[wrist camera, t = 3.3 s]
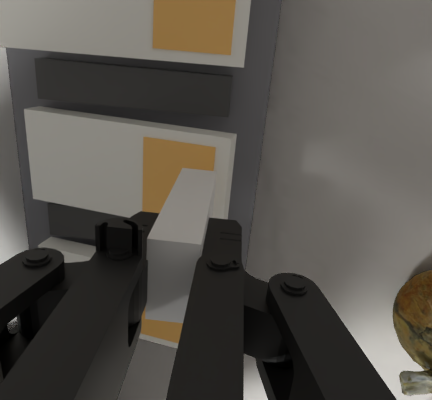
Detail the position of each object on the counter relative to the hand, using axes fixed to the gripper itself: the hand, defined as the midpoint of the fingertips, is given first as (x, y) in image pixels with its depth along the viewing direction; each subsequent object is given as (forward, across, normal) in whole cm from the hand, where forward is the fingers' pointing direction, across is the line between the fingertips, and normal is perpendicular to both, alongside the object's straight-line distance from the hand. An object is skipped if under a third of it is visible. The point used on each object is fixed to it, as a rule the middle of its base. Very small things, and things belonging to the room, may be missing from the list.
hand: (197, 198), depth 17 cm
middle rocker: (+3, +4, 0) cm, 5 cm away
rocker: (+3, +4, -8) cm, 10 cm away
